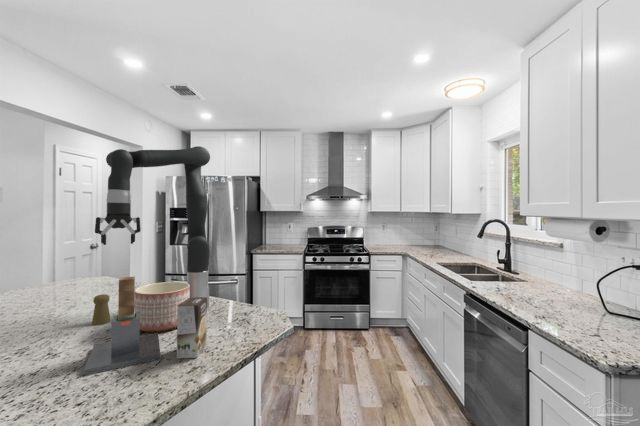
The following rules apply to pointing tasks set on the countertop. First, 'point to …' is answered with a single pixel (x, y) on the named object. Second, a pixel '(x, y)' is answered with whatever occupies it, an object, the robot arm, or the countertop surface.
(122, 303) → the stand post
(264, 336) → the countertop surface
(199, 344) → the coffee box
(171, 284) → the planter
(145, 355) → the stand base
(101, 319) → the cork
